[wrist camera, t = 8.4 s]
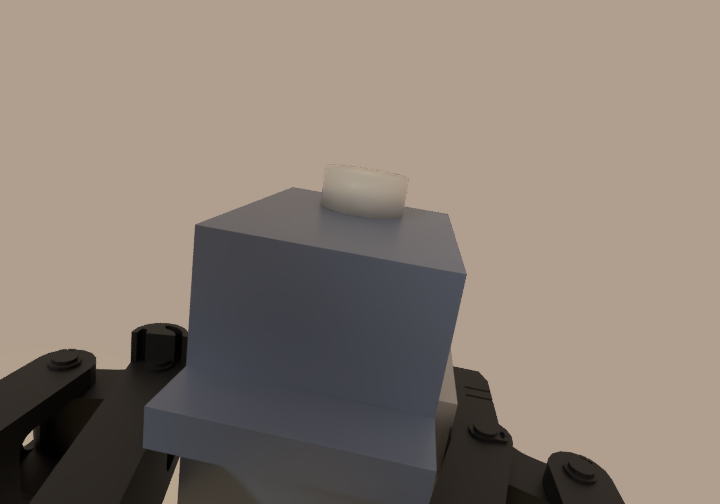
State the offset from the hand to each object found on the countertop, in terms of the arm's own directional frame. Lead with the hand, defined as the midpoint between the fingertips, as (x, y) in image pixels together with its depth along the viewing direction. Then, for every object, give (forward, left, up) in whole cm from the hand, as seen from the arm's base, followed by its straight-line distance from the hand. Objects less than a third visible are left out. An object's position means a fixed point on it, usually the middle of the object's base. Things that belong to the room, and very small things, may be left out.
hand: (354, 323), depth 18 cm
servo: (0, -5, -7) cm, 9 cm away
